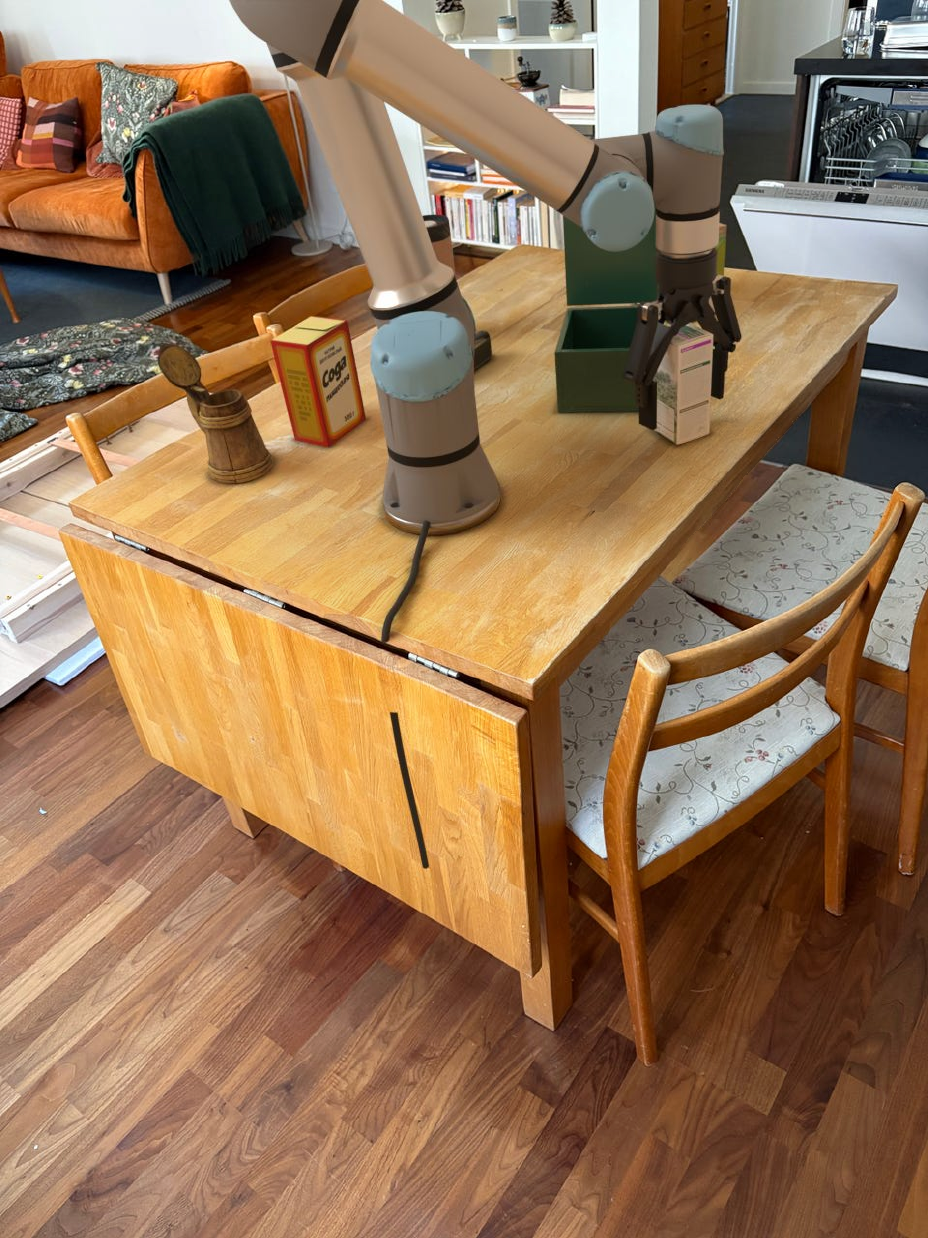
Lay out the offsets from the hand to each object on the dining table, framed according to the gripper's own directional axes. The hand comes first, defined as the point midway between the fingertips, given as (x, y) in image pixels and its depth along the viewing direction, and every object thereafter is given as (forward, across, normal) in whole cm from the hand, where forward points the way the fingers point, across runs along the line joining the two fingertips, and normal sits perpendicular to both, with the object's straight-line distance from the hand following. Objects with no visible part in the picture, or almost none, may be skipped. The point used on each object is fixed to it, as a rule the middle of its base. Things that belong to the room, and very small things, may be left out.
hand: (681, 410), depth 130 cm
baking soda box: (+3, +35, -38) cm, 52 cm away
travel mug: (+3, +4, -55) cm, 55 cm away
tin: (+3, -3, -18) cm, 19 cm away
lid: (-15, -8, -24) cm, 30 cm away
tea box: (+4, -32, -35) cm, 47 cm away
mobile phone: (+3, +10, -40) cm, 41 cm away
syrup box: (+4, 0, 0) cm, 4 cm away
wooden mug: (+3, +52, -39) cm, 65 cm away
